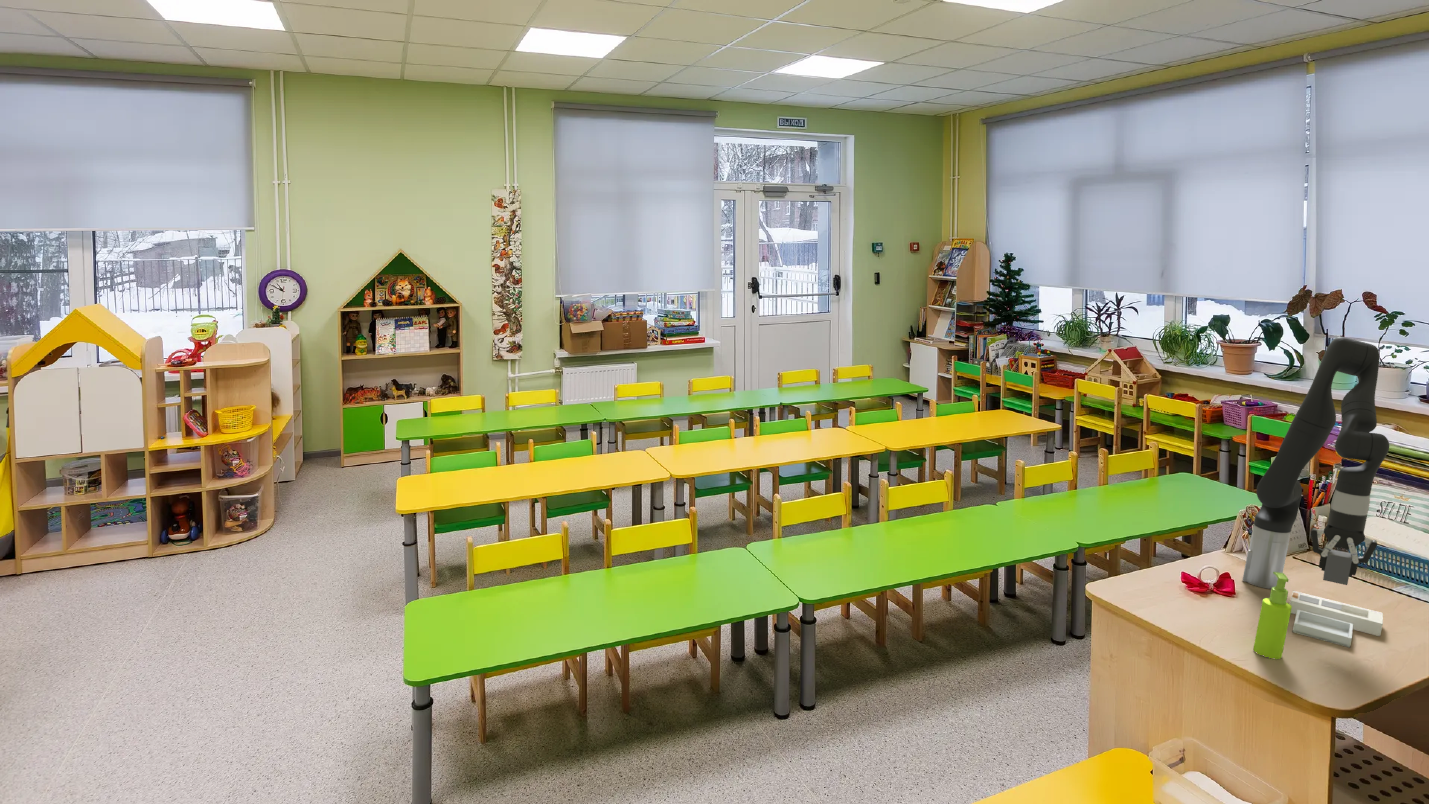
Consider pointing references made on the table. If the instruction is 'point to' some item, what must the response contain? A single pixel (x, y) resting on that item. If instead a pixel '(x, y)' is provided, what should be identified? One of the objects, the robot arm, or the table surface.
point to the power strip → (1339, 612)
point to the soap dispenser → (1273, 621)
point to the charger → (1337, 567)
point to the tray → (1323, 628)
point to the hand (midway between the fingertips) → (1336, 572)
